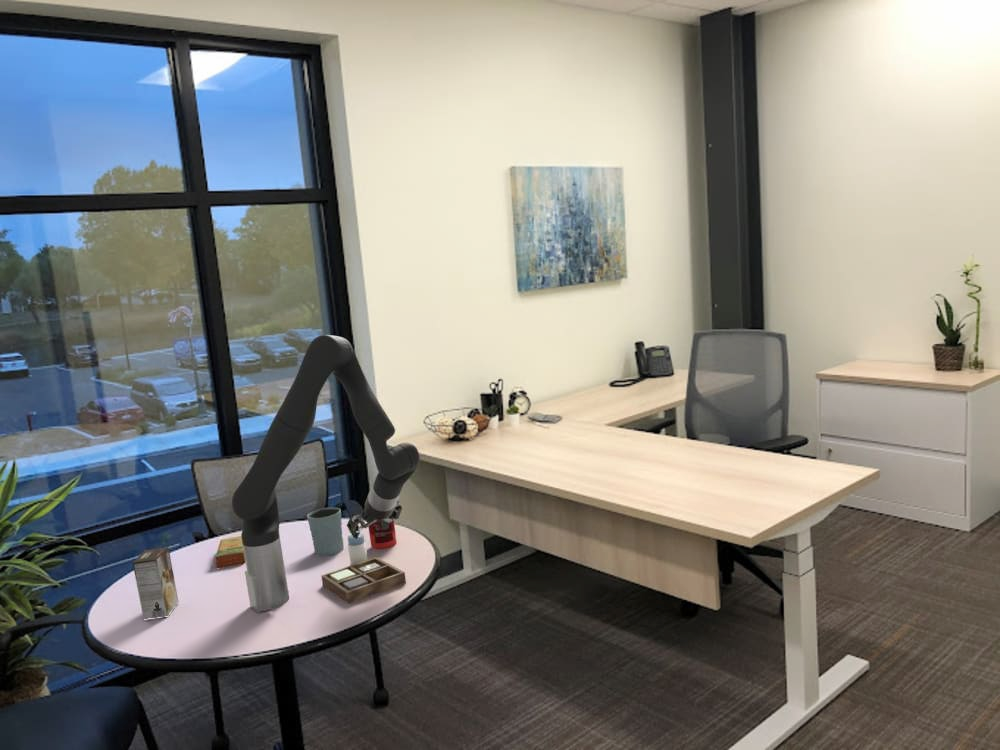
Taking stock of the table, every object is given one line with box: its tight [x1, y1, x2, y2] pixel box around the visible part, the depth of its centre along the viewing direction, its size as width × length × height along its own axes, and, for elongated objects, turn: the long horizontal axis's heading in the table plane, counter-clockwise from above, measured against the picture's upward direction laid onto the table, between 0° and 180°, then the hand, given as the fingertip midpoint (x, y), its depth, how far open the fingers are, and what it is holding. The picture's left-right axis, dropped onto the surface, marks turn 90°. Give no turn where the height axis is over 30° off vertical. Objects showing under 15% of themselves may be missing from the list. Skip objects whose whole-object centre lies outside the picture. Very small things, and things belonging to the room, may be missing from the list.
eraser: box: [343, 577, 368, 591], centre depth 207 cm, size 5×4×3 cm
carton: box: [215, 535, 246, 569], centre depth 247 cm, size 8×16×4 cm, turn 13°
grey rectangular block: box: [358, 563, 381, 573], centre depth 218 cm, size 5×4×2 cm
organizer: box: [320, 557, 407, 604], centre depth 213 cm, size 16×16×4 cm
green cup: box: [306, 507, 344, 557], centre depth 243 cm, size 10×10×12 cm
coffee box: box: [132, 546, 180, 620], centre depth 210 cm, size 9×6×16 cm
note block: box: [330, 569, 356, 582], centre depth 214 cm, size 5×5×3 cm
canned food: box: [367, 519, 397, 550], centre depth 241 cm, size 8×8×11 cm
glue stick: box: [347, 532, 369, 566], centre depth 226 cm, size 5×5×10 cm
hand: (369, 531), depth 217 cm, fingers open, 8 cm apart
